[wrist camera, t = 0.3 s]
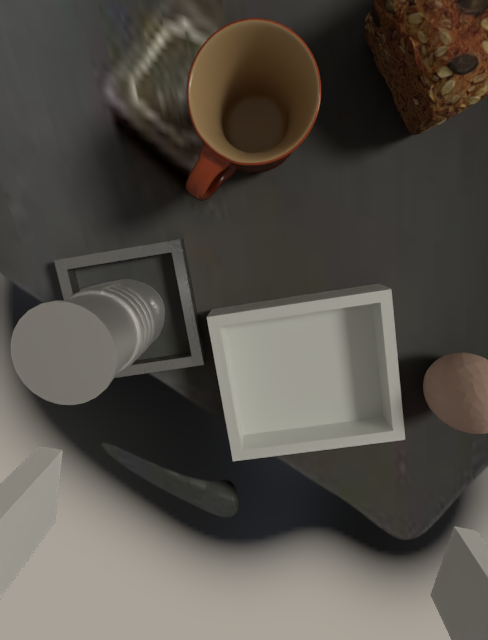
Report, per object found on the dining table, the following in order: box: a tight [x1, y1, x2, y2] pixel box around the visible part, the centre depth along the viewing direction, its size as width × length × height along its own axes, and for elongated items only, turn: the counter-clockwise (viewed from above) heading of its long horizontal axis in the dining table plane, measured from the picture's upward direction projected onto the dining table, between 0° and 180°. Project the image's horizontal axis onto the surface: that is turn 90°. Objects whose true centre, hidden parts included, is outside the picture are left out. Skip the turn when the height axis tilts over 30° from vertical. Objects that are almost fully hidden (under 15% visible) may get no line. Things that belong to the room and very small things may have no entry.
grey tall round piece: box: [10, 279, 165, 405], centre depth 33 cm, size 7×7×15 cm
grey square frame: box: [54, 239, 206, 378], centre depth 40 cm, size 12×12×2 cm
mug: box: [186, 18, 321, 201], centre depth 32 cm, size 12×9×10 cm
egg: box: [423, 353, 488, 434], centre depth 36 cm, size 7×7×9 cm
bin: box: [207, 284, 405, 461], centre depth 39 cm, size 14×16×4 cm
